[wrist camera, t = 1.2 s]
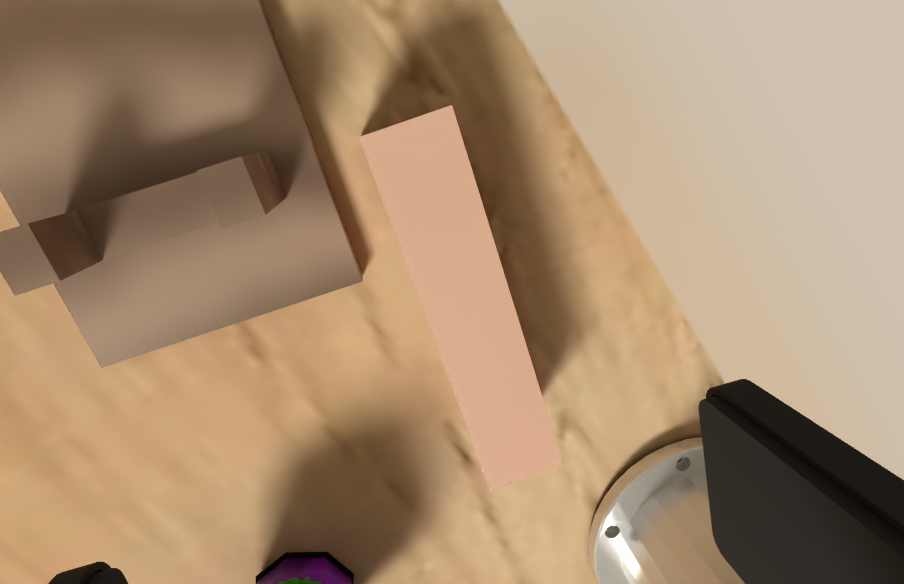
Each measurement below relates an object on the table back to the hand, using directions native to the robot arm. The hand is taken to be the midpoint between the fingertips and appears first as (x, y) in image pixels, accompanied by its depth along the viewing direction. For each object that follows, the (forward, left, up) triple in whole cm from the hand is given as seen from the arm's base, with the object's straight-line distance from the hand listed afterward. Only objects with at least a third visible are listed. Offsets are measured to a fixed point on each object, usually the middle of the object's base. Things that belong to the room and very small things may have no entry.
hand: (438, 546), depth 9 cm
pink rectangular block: (-2, -3, -18) cm, 18 cm away
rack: (+12, +7, -18) cm, 23 cm away
